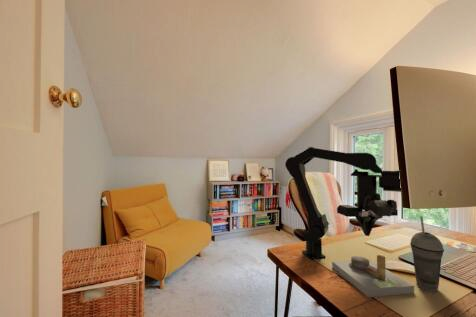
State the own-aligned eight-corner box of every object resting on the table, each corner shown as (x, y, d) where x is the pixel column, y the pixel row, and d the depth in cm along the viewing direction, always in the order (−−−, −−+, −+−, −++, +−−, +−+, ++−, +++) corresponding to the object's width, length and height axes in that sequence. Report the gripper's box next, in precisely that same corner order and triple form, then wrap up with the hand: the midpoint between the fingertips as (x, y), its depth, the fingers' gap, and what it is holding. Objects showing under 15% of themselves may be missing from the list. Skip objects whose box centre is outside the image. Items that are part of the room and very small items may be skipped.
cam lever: (347, 263, 68) (347, 245, 68) (359, 261, 70) (359, 243, 70) (378, 281, 58) (378, 259, 58) (391, 278, 60) (390, 257, 60)
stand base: (332, 267, 71) (332, 258, 71) (369, 265, 72) (369, 256, 73) (368, 297, 55) (368, 285, 55) (414, 293, 57) (414, 282, 57)
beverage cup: (432, 297, 55) (431, 221, 56) (404, 282, 62) (403, 215, 63) (451, 292, 57) (450, 219, 58) (421, 278, 64) (420, 213, 65)
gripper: (358, 193, 62) (359, 246, 61) (413, 192, 64) (414, 243, 64) (336, 188, 73) (336, 233, 72) (383, 188, 75) (383, 231, 75)
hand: (366, 235), depth 70 cm, fingers closed
